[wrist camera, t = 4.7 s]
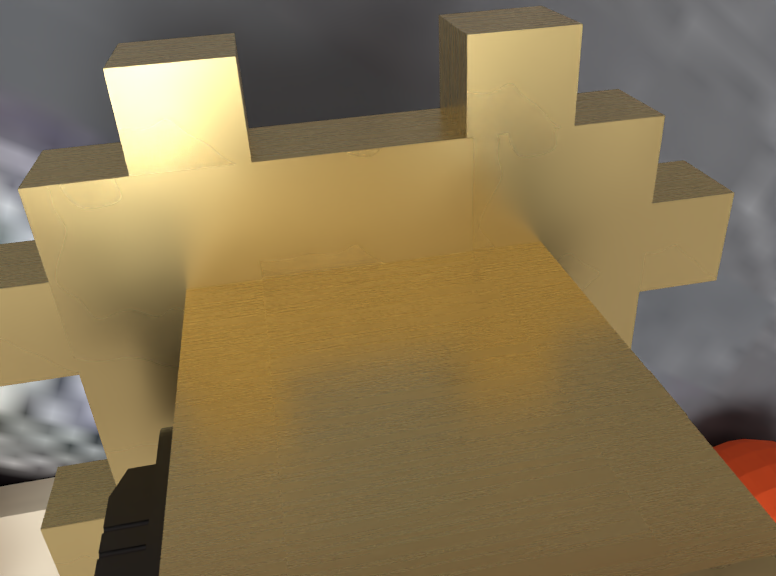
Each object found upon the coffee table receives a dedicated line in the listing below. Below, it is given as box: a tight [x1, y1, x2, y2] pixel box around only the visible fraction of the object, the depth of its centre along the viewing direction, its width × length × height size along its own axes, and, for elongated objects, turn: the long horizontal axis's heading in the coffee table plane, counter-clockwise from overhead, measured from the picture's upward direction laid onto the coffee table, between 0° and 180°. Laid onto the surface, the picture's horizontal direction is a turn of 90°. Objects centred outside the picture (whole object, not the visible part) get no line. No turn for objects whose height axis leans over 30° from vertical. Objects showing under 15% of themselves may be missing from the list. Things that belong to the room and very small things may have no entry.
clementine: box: [713, 439, 776, 523], centre depth 29 cm, size 8×7×7 cm
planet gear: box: [0, 6, 776, 576], centre depth 10 cm, size 12×12×8 cm
